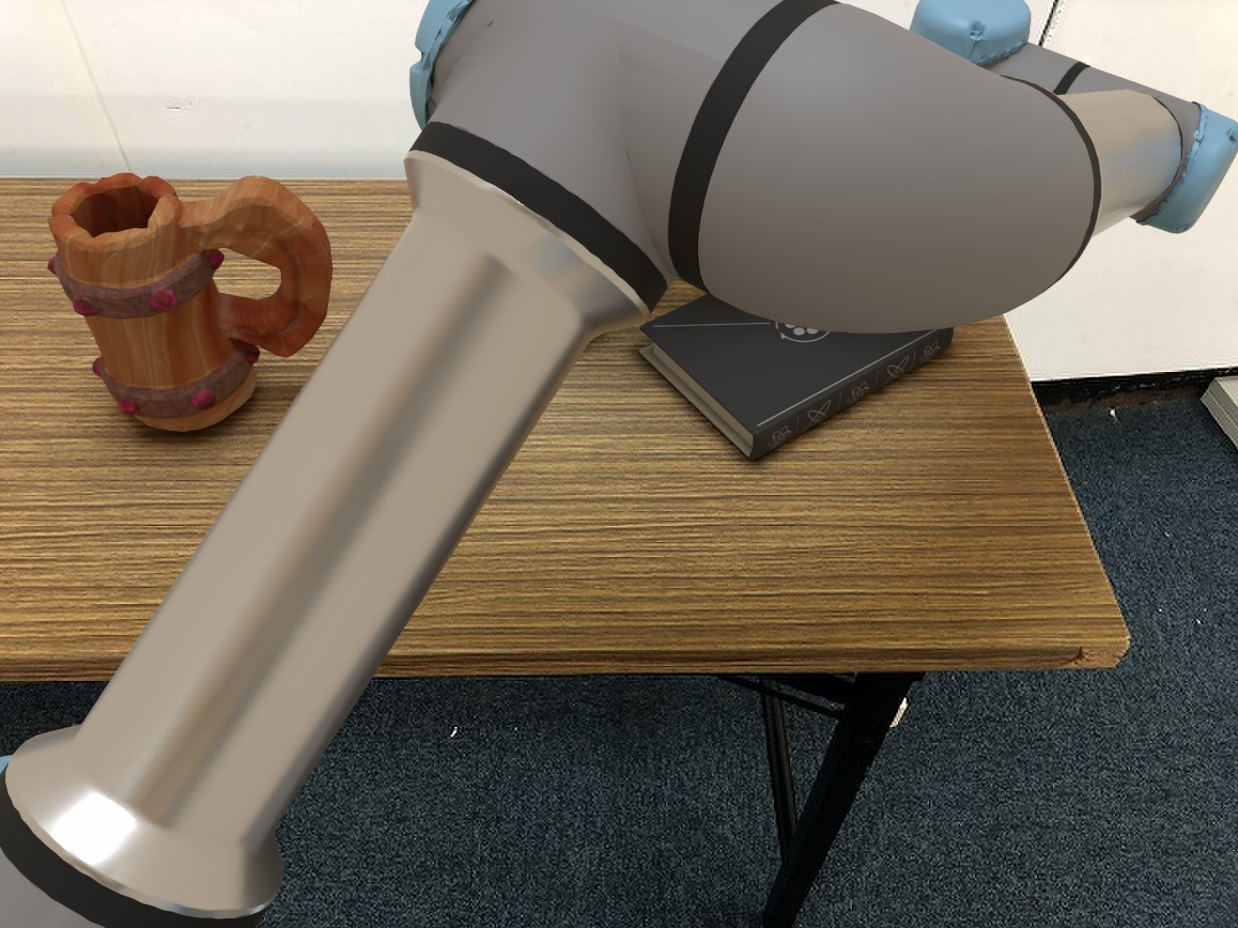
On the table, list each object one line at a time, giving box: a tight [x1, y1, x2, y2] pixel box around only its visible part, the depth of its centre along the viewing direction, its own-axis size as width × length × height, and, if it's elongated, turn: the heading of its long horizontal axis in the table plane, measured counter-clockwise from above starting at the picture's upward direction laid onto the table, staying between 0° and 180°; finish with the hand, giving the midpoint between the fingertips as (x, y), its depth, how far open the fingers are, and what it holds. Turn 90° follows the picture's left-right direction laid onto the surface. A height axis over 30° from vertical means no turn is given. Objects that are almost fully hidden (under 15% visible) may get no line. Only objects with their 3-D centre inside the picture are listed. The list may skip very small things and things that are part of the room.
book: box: [637, 293, 955, 462], centre depth 91 cm, size 22×15×3 cm
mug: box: [46, 172, 334, 433], centre depth 79 cm, size 19×11×20 cm, turn 95°
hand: (514, 151), depth 85 cm, fingers open, 13 cm apart
